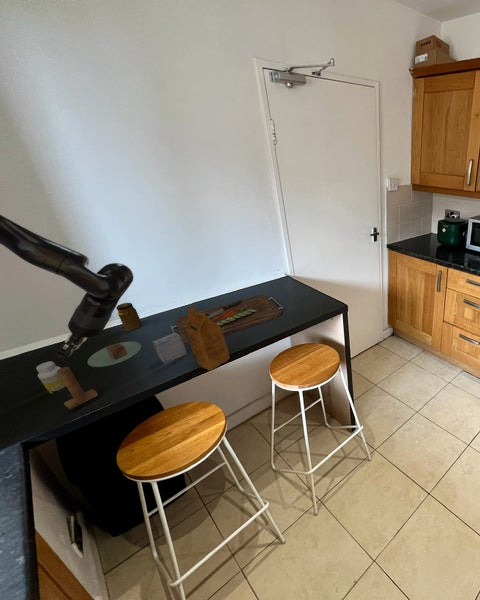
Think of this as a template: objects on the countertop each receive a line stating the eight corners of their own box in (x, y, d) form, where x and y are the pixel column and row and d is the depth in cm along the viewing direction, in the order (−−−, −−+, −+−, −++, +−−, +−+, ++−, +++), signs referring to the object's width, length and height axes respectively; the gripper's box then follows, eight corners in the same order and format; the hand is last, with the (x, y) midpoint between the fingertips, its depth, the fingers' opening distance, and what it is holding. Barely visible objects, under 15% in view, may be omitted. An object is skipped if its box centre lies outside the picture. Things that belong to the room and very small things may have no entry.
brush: (72, 413, 95) (48, 378, 88) (67, 409, 96) (44, 374, 90) (100, 398, 100) (80, 364, 94) (96, 395, 102) (75, 361, 95)
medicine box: (182, 350, 123) (175, 331, 119) (187, 354, 121) (180, 335, 117) (159, 360, 118) (151, 341, 114) (165, 365, 115) (156, 345, 111)
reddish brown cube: (115, 360, 116) (110, 351, 114) (110, 356, 118) (105, 348, 116) (127, 354, 119) (123, 345, 118) (122, 351, 121) (118, 342, 119)
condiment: (123, 329, 137) (111, 305, 131) (146, 321, 143) (136, 298, 137) (128, 335, 133) (116, 310, 127) (151, 327, 139) (141, 303, 133)
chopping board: (178, 350, 123) (175, 343, 122) (168, 323, 142) (166, 317, 140) (288, 313, 149) (287, 308, 148) (268, 294, 167) (267, 289, 166)
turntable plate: (100, 374, 111) (99, 372, 110) (80, 360, 118) (79, 358, 117) (150, 350, 123) (149, 348, 123) (129, 339, 130) (128, 337, 130)
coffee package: (218, 348, 124) (202, 299, 114) (234, 360, 118) (219, 309, 108) (191, 361, 117) (172, 309, 107) (207, 374, 111) (188, 320, 101)
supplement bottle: (60, 382, 107) (45, 359, 103) (75, 382, 107) (61, 359, 102) (44, 393, 102) (27, 370, 98) (60, 394, 102) (44, 370, 98)
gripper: (93, 296, 93) (76, 327, 99) (54, 327, 81) (38, 360, 87) (122, 309, 96) (103, 339, 102) (88, 341, 85) (70, 372, 91)
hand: (73, 349), depth 95 cm, fingers open, 8 cm apart
